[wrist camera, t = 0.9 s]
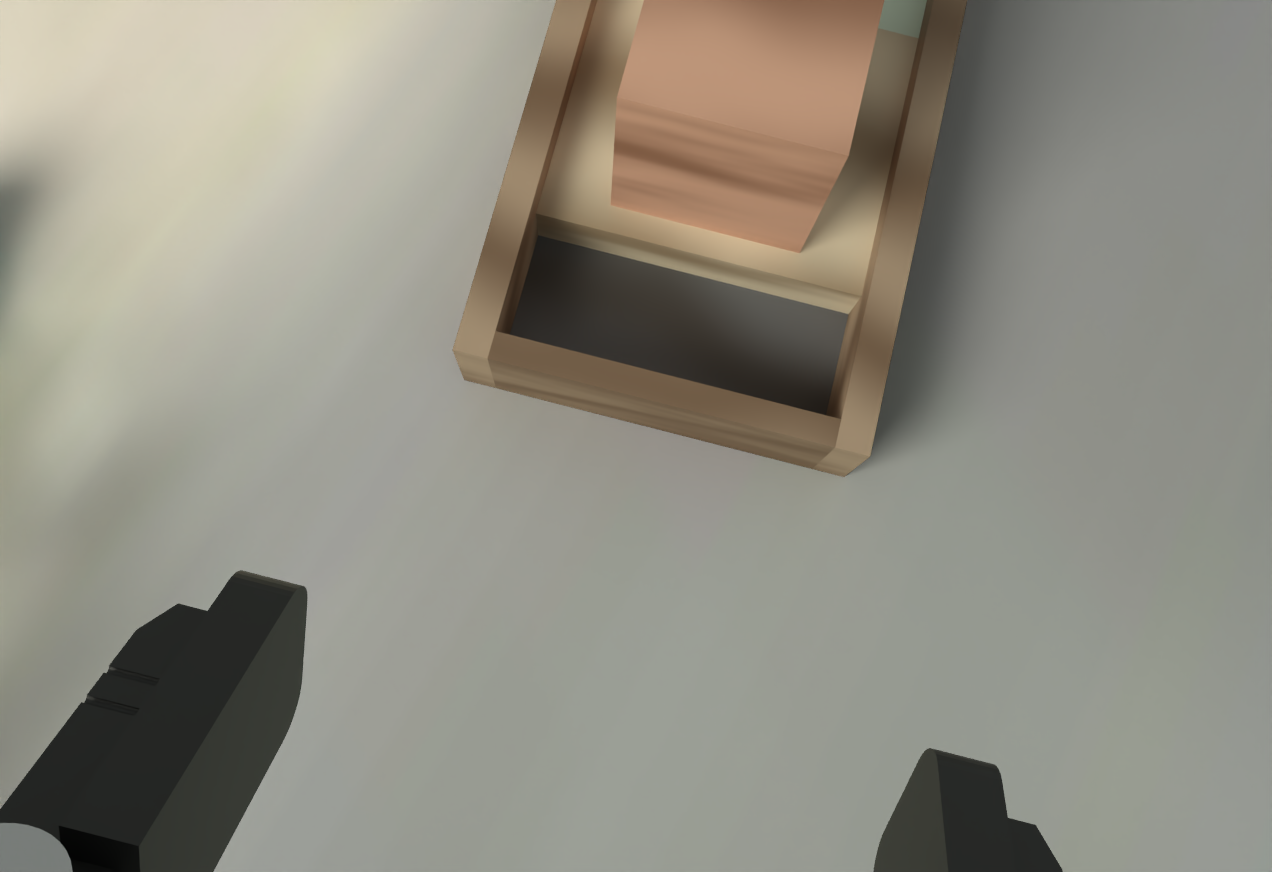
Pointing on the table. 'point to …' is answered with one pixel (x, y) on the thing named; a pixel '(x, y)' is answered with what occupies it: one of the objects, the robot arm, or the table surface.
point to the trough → (703, 264)
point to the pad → (903, 16)
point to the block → (741, 112)
